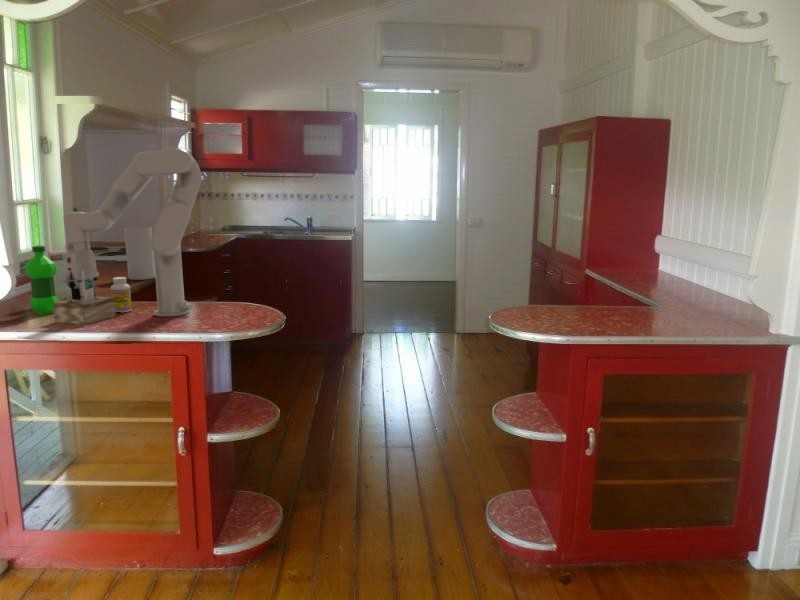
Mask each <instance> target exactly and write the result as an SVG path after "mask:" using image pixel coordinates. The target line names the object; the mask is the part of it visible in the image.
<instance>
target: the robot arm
mask: <svg viewBox="0 0 800 600" xmlns="http://www.w3.org/2000/svg"><path fill="white" fill-rule="evenodd" d="M168 175H176V179H175V183H174V185H173V187H172V191H171V194H170V196H169V199H168V201H167V203H165V204H164V206H163V208H162V209H161V212H160V214H159V217H158V219H157V222H156V225H155V227H154V230H153V232H152V237H151V248H152V250H153V254H154V266H155V278H154V279H155V290H156V303H157V309H156V310H154V311H153V315H154V316H155V317H165V318H166V317H170V318H171V317H179V316H183V315H187V314H189V313H190V312H191V311H192V310H193V308H194V305H193V304H188V301H187V300H185V289H184V275H183V261H182V260H183V258H182V243H181V242H182V240H183V237H184V235H185V232H186V229H187V227H188V224H189V221H190V219H191V217H192V210H193V207H194V205H195V203H196V200H197V197H198V194H199V191H200V188H201V184H202V171H201V168H200V166H199V164H198V162H197V160H196V159H195V158H194V156H192V154H191V153H190V152H189V151H188V150H186V149H184V148H170V149H169V148H167V149H159V150H149V151H141V152H138V153H136V154H135V155H134V156H133V157H132V161H131V163H130V164H129V165H128V166H127V168H126V169H125V170H124V171H123V172H122V173H121V175H120V176H119V177H118V178H117V179H116V180H115V182H114V183H113V185H112V187H111V189H110V191H109V194H107V196H106V198H105V199H104V200H103V201H102V203H101V204H100V205H99V206H98V208H96V210H94V211H88V212H84V211H69V212H65V213H63V224H64V234H65V235H64V236H65V244H66V245H65V249H66V251H67V252H66V275H65V277H64V278H63V281H64V282H65V283H66V284H67V285H68V286H69V288H71V293H72V299H74V300H80V289H79V288H78V284H79V281H80V280H83V277H82V271H85V272H84V274H85V276H86V278H94V286H95V285H96V284H97V283H96V282H97V280H98V277H99V276H100V272H99V271H98V268H97V261H96V258H95V255H94V254H95V253H94V252H93V250H92V249H91V242H90V233H96V234H97V233H104V232H106V231H107V230H109V229H111V227H112V226H113V225H114V224H115V223H116V222H117V221H118V219H119V218H120V217H121V216H122V214H123V213H124V212H125V211H126V209H127V208H128V207H129V206H130V205H131V204H132V203H133V202H134V201H135V199H137V197H138V196H139V195H140V194H141V192H143V190H144V189H145V188H146V186H147V185H148V184H149V183H150V181H152V179H153V178H154V177H157V176H158V177H159V176H168ZM73 278H74V279H73ZM74 282H75V284H74Z"/></svg>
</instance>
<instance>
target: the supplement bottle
mask: <svg viewBox="0 0 800 600" xmlns="http://www.w3.org/2000/svg"><path fill="white" fill-rule="evenodd" d="M112 282H113V284H112V285H111V286H110V293H111V294H110V295H111V296H110V297H113V298H114V306H115V312H126V313H130V312H132V297H131V286H130V285H129V283H127V277H125V276H117V277H113V278H112ZM129 311H130V312H129Z"/></svg>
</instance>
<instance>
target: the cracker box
mask: <svg viewBox="0 0 800 600" xmlns="http://www.w3.org/2000/svg"><path fill="white" fill-rule="evenodd" d="M66 252H67V250H59V251H49V252H47V258H49V259H50V260H51V261H53V262H54V263H55V265H56V274H55V275H54V276H53V277H54V286H55V295H56V297H57V298H58V300H59V301H62V300H67V299H71V298H72V296H71V288H69V286H68V285H67V284H66V283H65V282H64V281H63V278H64V277H65V275H66Z"/></svg>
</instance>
